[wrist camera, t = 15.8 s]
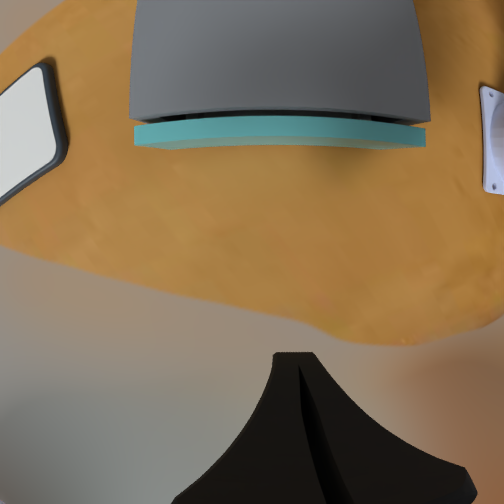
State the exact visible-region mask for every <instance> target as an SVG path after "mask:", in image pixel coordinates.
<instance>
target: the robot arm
mask: <svg viewBox="0 0 504 504" xmlns="http://www.w3.org/2000/svg"><path fill="white" fill-rule="evenodd" d="M489 93H490V95H491V96H490V95H489ZM480 97H481V107H482V119H483V139H484V176H483V188H484V190H485V191H486V192H489V193H496V194H502V195H504V94H503V93H501V92H499V91H496V90H494V89H492V88H489V87H486V86H482V87H481V88H480ZM492 185H493V188H492ZM476 496H477V490H476V488H475V486H474V483H473V482H472V479H471V477H470V475H469V474H468V472H467V470H466V469H465V467H461V466H459V465H456V464H453V463H450V462H447V461H444V460H442V459H439V458H436V457H434V456H432V455H430V454H428V453H425V452H424V451H422V450H419V449H417V448H416V447H414V446H412V445H410V444H408V443H406V442H405V441H403V440H401V439H400V438H398V437H397V436H395V435H394V434H392V433H391V432H389V431H388V430H386V429H385V428H384V427H382V426H381V425H380V424H378V423H377V422H376V421H375V420H373V419H372V418H371V417H369V415H367V414H366V413H365V412H364V411H363V410H362V409H361V408H360V407H359V406H358V405H357V404H356V403H355V402H354V401H353V400H352V399H351V398H350V397H349V396H348V395H347V394H346V393H345V392H344V391H343V390H342V388H341V387H340V386H339V385H338V384H337V383H336V381H335V380H334V379H333V378H332V377H331V375H330V374H329V373H328V372H327V371H326V369H325V368H324V366H323V365H322V364H321V362H320V361H319V360H318V358H317V357H316V355H315V354H314V353H313V352H276V353H275V354H274V355H273V362H272V369H271V373H270V376H269V379H268V382H267V384H266V387H265V389H264V392H263V394H262V396H261V398H260V400H259V402H258V404H257V406H256V408H255V410H254V412H253V414H252V415H251V417H250V419H249V420H248V422H247V423H246V425H245V426H244V428H243V429H242V431H241V432H240V434H239V435H238V436H237V438H236V439H235V440H234V441H233V443H232V444H231V445H230V447H229V448H228V449H227V450H226V452H225V453H224V454H223V455H222V456H221V457H220V458H219V459H218V460H217V461H216V462H215V463H214V464H213V465H212V466H211V467H210V468H209V469H208V470H207V471H206V472H205V473H204V474H203V475H202V476H201V477H200V478H199V479H197V481H195V482H194V483H193V484H191V485H190V486H189V487H188V488H187V489H185V490H184V491H183V492H181V493H180V494H179V495H177V496H176V497H175V498H174V500H173V502H172V503H171V504H471V503H472V502H473V501H474V500H475V498H476ZM0 504H6V503H5V502H3V501H2V500H0Z"/></svg>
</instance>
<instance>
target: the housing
mask: <svg viewBox="0 0 504 504" xmlns="http://www.w3.org/2000/svg"><path fill="white" fill-rule="evenodd" d="M235 110H311V111H329V112H343V113H355V114H365V115H371V121H376V122H384V123H392V124H399V125H406V126H409V125H414V124H419V123H424V122H429V121H431V118H430V103H429V91H428V82H427V73H426V66H425V59H424V52H423V46H422V40H421V35H420V30H419V25H418V20H417V16H416V12H415V7H414V3H413V0H137V8H136V15H135V24H134V33H133V44H132V57H131V74H130V102H129V118H130V119H134V120H137V121H140V122H143V123H147V124H154V123H162V122H170V121H180V120H186V114H191V113H202V112H216V111H235Z"/></svg>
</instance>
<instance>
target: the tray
mask: <svg viewBox="0 0 504 504" xmlns="http://www.w3.org/2000/svg"><path fill="white" fill-rule="evenodd" d="M134 142H135V145H136V146H145V147H154V148H162V149H170V150H173V149H184V148H198V147H215V146H238V145H316V146H339V147H355V148H368V149H380V150H382V149H396V148H412V147H426V142H425V129H424V128H418V127H412V126H406V125H399V124H392V123H384V122H376V121H371V115H365V114H355V113H343V112H329V111H311V110H235V111H216V112H202V113H191V114H186V120H180V121H170V122H162V123H154V124H146V125H139V126H134Z"/></svg>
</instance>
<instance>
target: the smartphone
mask: <svg viewBox="0 0 504 504" xmlns="http://www.w3.org/2000/svg"><path fill="white" fill-rule="evenodd" d="M67 152H68V140H67V136H66V132H65V128H64V124H63V119H62V115H61V110H60V105H59V100H58V95H57V89H56V84H55V78H54V71H53V68H52V66H50V65H48V64H46V63H37V64H35V65H34V66H32V67H31V68H30V69H29V70H27V71H26V72H25V73H24V74H23V75H21V76H20V77H19V78H18V79H17V80H15V81H14V82H13V83H12V84H11V85H10V86H9V87H7V88H6V89H5V90H4V91H3V92H2V93H1V94H0V206H1V205H3V204H4V203H5V202H7V201H8V200H9V199H11V198H12V197H13V196H15V195H16V194H17V193H19V192H20V191H21V190H23V189H24V188H26V187H27V186H29V185H30V184H31V183H33V182H34V181H36V180H37V179H39V178H40V177H42V176H43V175H45V174H46V173H48V172H49V171H51V170H52V169H54V168H56V167H57V166H59V165H60V164H61V163H62V162H63V161H64V159H65V157H66V155H67Z"/></svg>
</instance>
